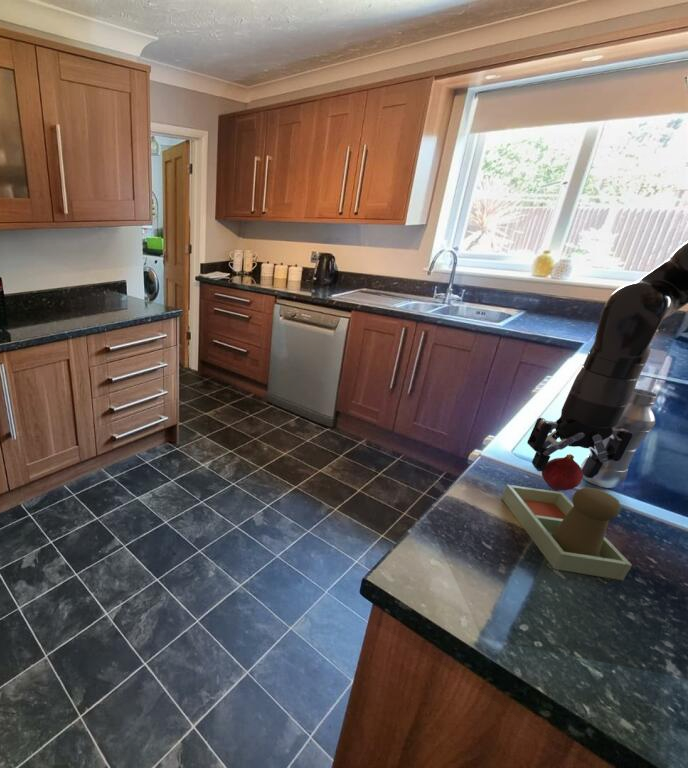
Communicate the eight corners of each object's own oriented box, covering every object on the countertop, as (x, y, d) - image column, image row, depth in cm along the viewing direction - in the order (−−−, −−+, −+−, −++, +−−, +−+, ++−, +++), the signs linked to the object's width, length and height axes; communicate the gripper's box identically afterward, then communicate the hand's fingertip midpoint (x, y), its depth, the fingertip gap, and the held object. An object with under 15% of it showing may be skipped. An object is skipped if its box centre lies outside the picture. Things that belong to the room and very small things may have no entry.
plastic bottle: (568, 475, 87) (610, 387, 79) (590, 470, 89) (633, 383, 81) (605, 495, 81) (654, 402, 73) (627, 488, 83) (678, 397, 75)
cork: (607, 562, 65) (640, 505, 61) (575, 566, 64) (605, 509, 60) (568, 534, 71) (596, 480, 66) (537, 538, 70) (563, 483, 65)
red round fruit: (576, 503, 79) (594, 468, 76) (537, 492, 82) (553, 457, 79) (571, 487, 83) (587, 453, 80) (534, 477, 86) (549, 443, 83)
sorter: (555, 505, 78) (562, 492, 77) (623, 580, 63) (632, 565, 62) (501, 497, 80) (506, 484, 79) (553, 569, 65) (561, 553, 63)
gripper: (564, 400, 72) (530, 478, 79) (664, 409, 70) (620, 490, 76) (540, 382, 79) (510, 456, 86) (630, 391, 76) (592, 466, 83)
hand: (562, 472), depth 81 cm, fingers open, 7 cm apart
